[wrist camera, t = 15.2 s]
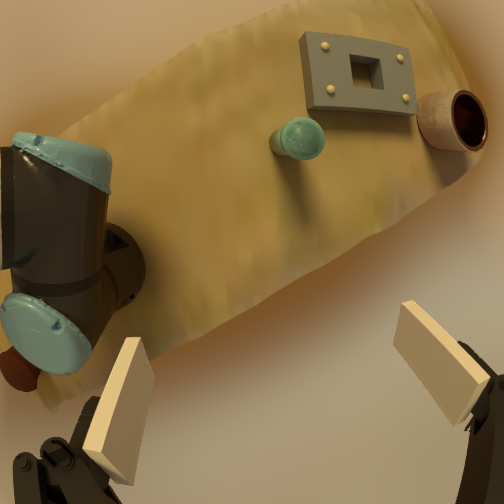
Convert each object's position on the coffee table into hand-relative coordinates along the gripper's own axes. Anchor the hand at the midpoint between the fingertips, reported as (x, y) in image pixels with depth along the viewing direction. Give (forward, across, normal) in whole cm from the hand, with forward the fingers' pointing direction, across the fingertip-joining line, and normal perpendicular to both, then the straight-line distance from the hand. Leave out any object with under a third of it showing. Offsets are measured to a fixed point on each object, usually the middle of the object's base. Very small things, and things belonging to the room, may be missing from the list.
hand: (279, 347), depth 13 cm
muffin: (+32, -55, -27) cm, 69 cm away
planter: (+32, +37, +15) cm, 51 cm away
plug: (+32, +7, +10) cm, 34 cm away
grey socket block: (+32, +20, +21) cm, 43 cm away
